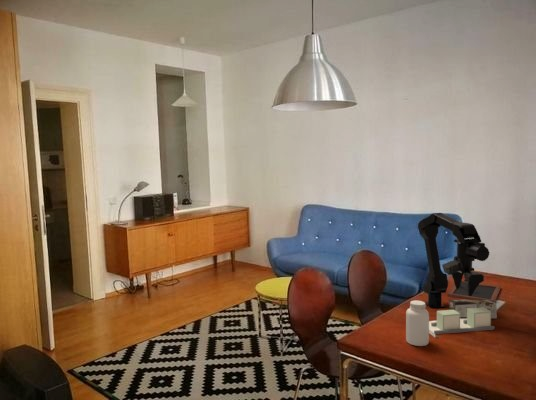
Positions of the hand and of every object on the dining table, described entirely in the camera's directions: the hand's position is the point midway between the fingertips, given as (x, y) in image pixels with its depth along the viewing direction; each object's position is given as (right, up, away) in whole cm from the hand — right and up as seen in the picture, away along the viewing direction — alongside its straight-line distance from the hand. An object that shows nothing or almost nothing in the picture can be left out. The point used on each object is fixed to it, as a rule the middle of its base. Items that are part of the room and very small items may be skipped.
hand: (463, 292), depth 172 cm
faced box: (+2, -12, -8) cm, 14 cm away
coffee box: (+14, -8, +3) cm, 16 cm away
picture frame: (+22, -9, +36) cm, 43 cm away
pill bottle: (-25, -15, -17) cm, 33 cm away
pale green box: (-10, -12, -9) cm, 18 cm away
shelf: (-6, -13, -6) cm, 16 cm away
